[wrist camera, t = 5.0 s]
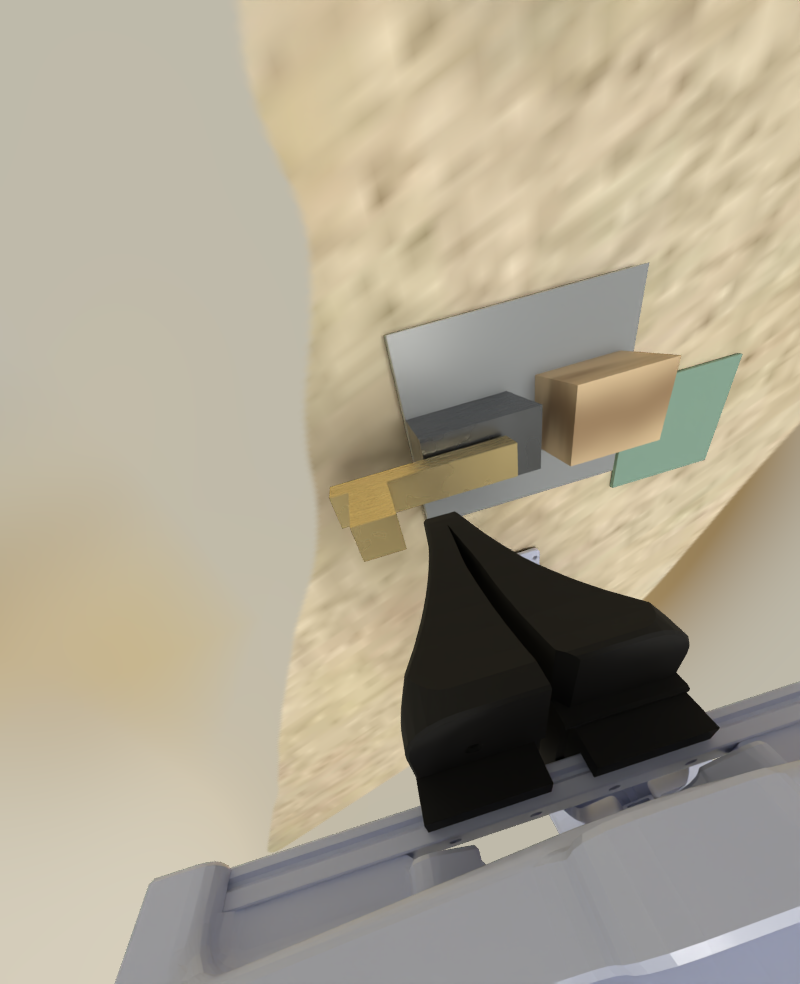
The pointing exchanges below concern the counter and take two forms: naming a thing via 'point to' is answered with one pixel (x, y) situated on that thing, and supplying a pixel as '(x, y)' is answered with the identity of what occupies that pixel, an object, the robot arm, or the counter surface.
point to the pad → (682, 423)
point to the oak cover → (605, 404)
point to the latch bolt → (416, 491)
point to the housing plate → (508, 377)
